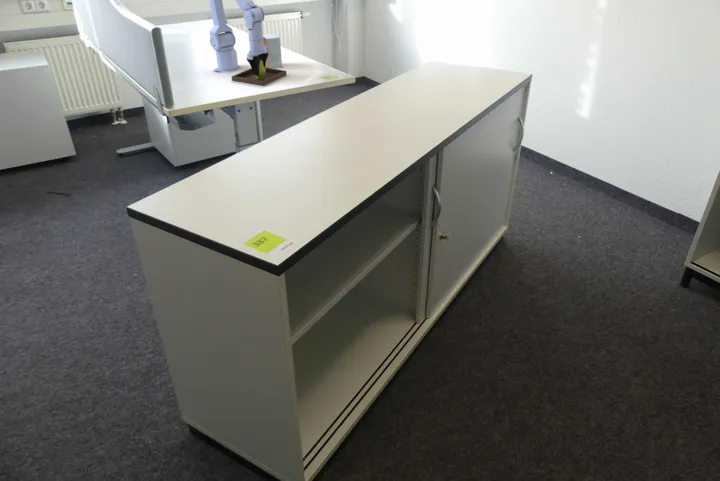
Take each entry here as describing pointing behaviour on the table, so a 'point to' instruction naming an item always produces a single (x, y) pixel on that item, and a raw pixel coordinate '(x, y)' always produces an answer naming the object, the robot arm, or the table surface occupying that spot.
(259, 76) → the pear
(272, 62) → the small box
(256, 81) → the tray
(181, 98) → the table surface
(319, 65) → the table surface
